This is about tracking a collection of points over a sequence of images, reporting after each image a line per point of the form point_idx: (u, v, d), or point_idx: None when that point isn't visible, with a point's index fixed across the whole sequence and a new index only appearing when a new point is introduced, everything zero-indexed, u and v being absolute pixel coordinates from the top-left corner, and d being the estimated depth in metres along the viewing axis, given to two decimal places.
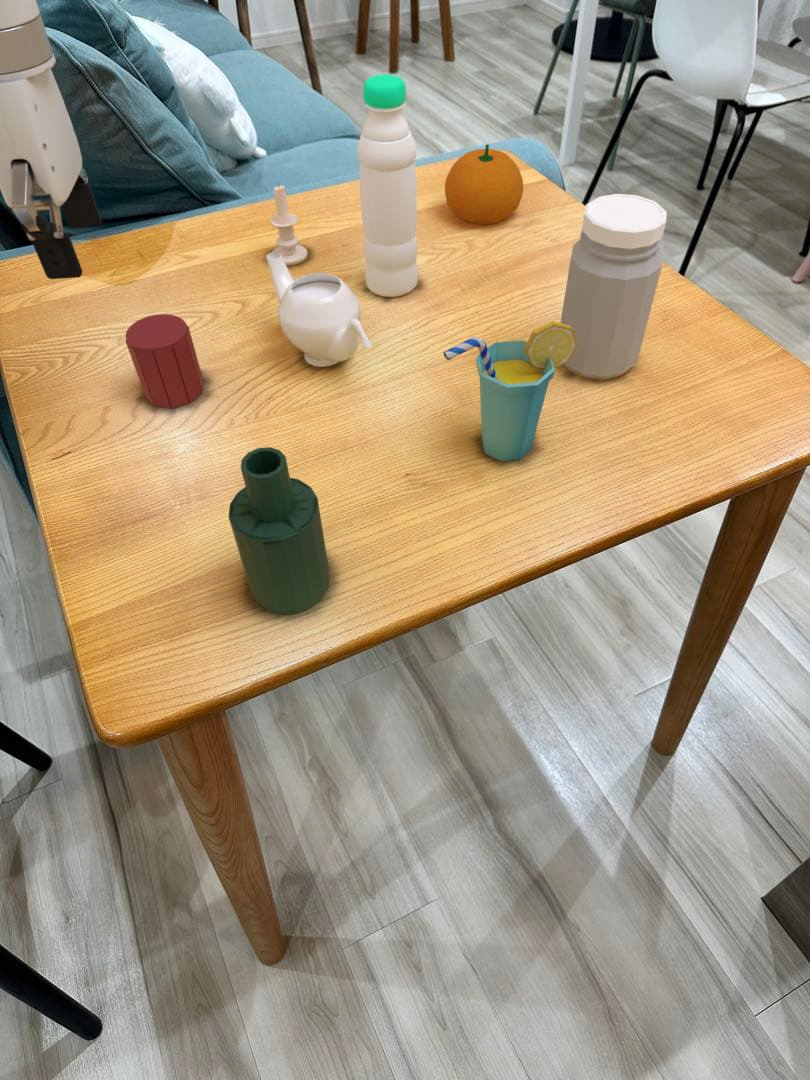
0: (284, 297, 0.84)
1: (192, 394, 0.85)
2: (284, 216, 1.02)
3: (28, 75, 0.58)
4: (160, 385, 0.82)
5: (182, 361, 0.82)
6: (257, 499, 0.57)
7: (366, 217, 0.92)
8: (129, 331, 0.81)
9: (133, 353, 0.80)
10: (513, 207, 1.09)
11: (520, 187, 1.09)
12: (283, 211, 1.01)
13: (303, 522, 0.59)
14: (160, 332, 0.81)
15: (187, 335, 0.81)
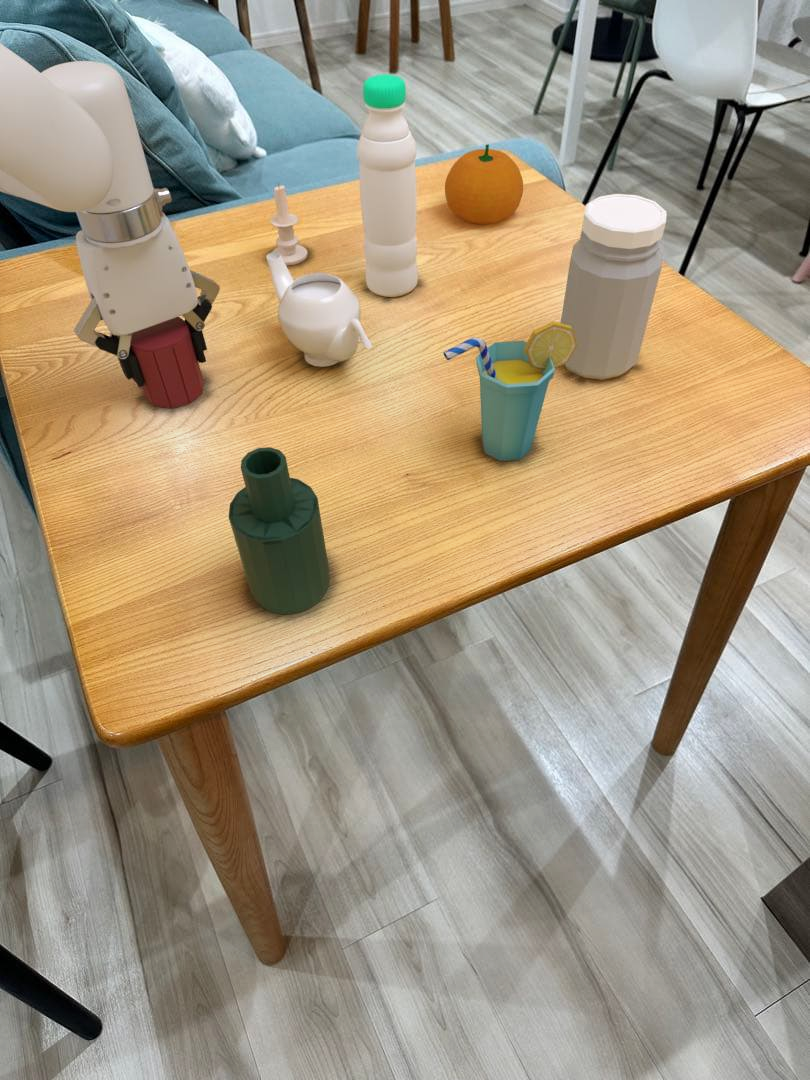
0: (284, 297, 0.84)
1: (192, 394, 0.85)
2: (284, 216, 1.02)
3: (103, 246, 0.70)
4: (160, 385, 0.82)
5: (182, 361, 0.82)
6: (257, 499, 0.57)
7: (366, 217, 0.92)
8: None
9: (133, 353, 0.80)
10: (513, 207, 1.09)
11: (520, 187, 1.09)
12: (283, 211, 1.01)
13: (303, 522, 0.59)
14: (160, 332, 0.81)
15: (187, 335, 0.81)
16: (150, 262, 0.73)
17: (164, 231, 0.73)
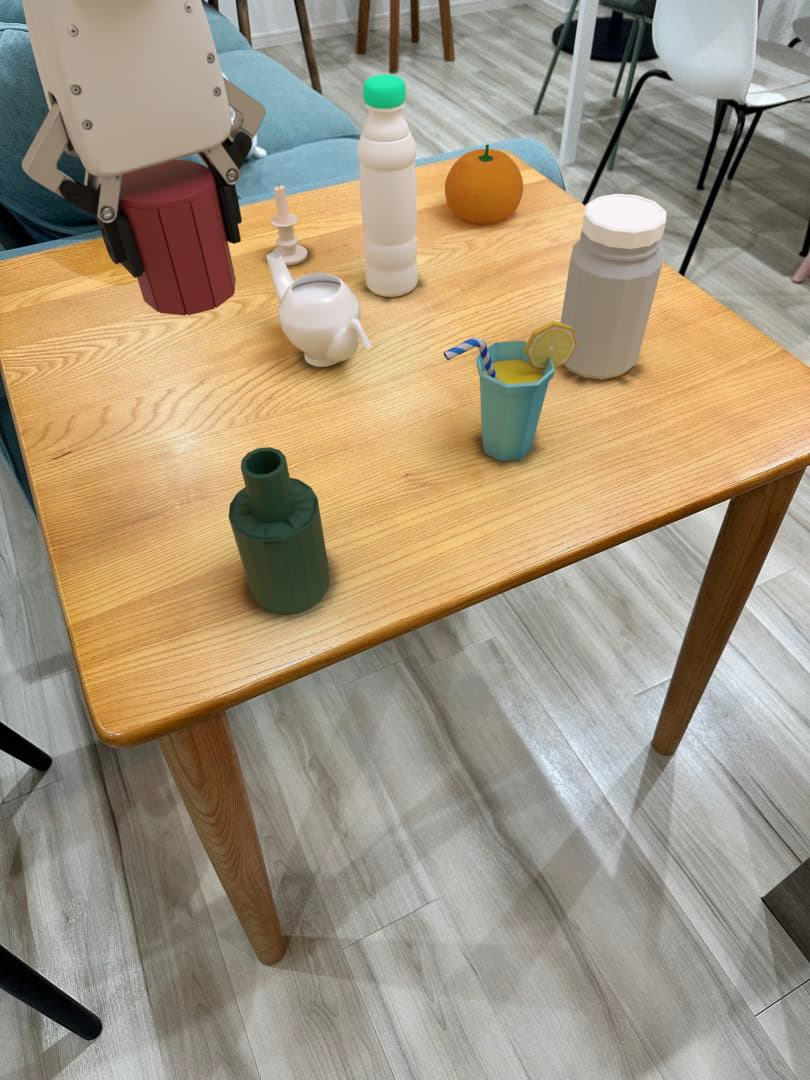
0: (284, 297, 0.84)
1: (219, 294, 0.53)
2: (284, 216, 1.02)
3: None
4: (169, 273, 0.51)
5: (205, 232, 0.50)
6: (257, 499, 0.57)
7: (366, 217, 0.92)
8: None
9: (124, 216, 0.48)
10: (513, 207, 1.09)
11: (520, 187, 1.09)
12: (283, 211, 1.01)
13: (303, 522, 0.59)
14: (168, 181, 0.49)
15: (213, 188, 0.49)
16: (153, 31, 0.41)
17: None
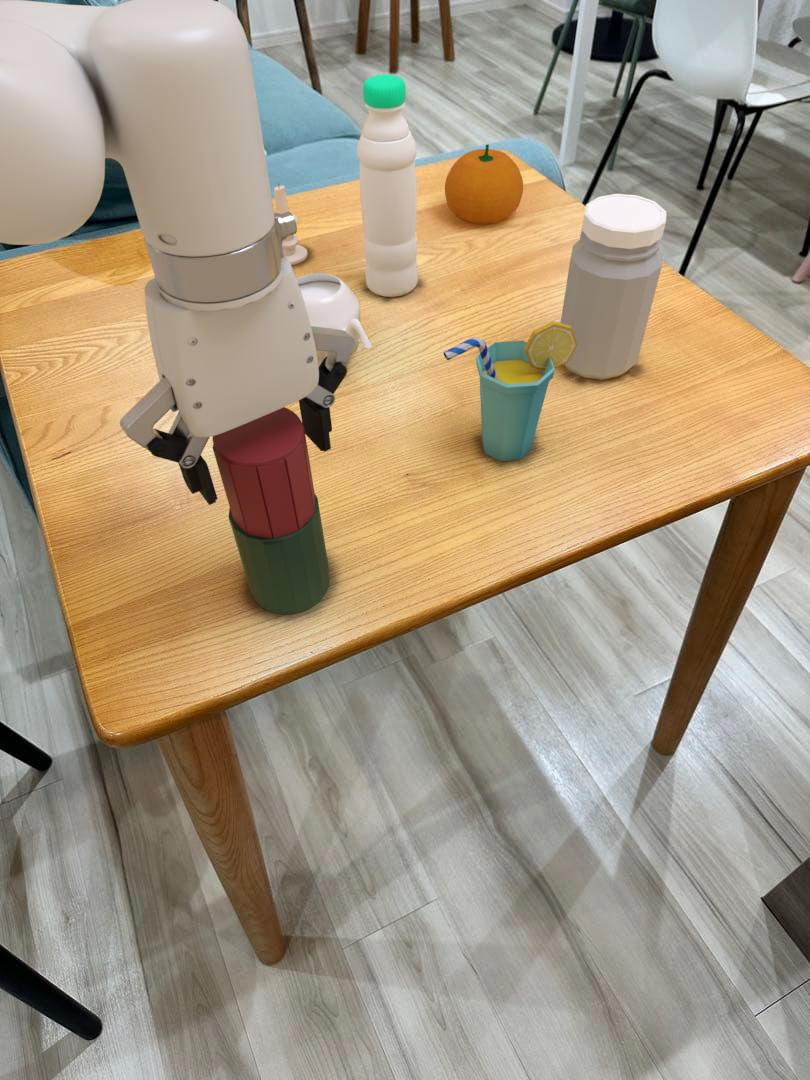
0: None
1: (303, 518, 0.58)
2: None
3: (193, 308, 0.43)
4: (261, 510, 0.56)
5: (295, 476, 0.55)
6: None
7: (366, 217, 0.92)
8: None
9: (224, 466, 0.54)
10: (513, 207, 1.09)
11: (520, 187, 1.09)
12: (283, 211, 1.01)
13: None
14: (263, 434, 0.54)
15: (303, 438, 0.55)
16: (260, 329, 0.46)
17: (285, 281, 0.45)
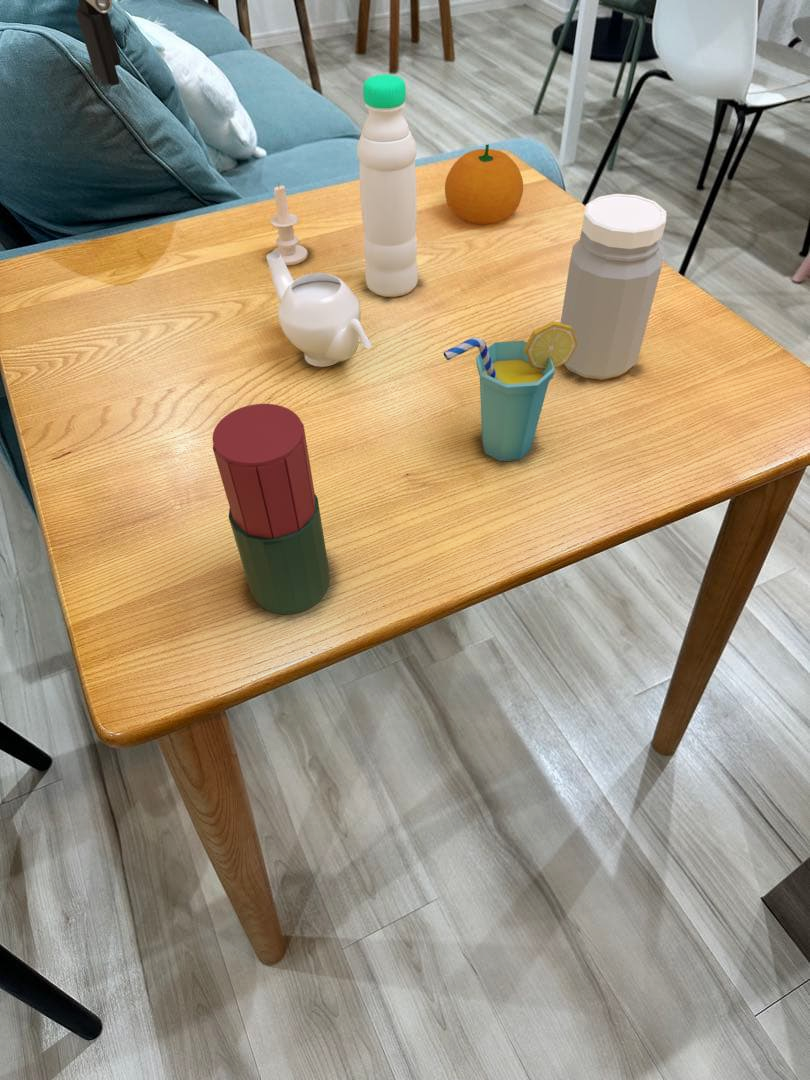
0: (284, 297, 0.84)
1: (303, 518, 0.58)
2: (284, 216, 1.02)
3: None
4: (261, 510, 0.56)
5: (295, 476, 0.55)
6: None
7: (366, 217, 0.92)
8: (217, 432, 0.54)
9: (224, 466, 0.54)
10: (513, 207, 1.09)
11: (520, 187, 1.09)
12: (283, 211, 1.01)
13: None
14: (263, 434, 0.54)
15: (303, 438, 0.55)
16: None
17: None
